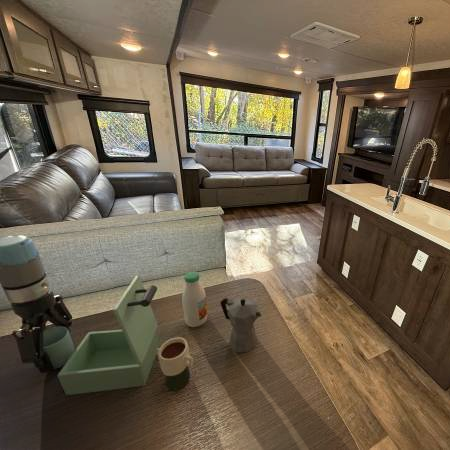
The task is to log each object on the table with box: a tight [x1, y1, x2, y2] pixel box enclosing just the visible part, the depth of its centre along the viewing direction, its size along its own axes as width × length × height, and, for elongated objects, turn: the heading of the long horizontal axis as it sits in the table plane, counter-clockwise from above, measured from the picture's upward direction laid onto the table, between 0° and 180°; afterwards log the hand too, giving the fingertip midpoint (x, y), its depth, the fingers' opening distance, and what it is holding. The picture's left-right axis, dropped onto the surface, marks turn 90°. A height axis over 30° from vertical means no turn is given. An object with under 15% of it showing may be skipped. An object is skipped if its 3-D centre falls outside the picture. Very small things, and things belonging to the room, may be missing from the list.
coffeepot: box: [219, 297, 262, 353], centre depth 81 cm, size 15×9×18 cm, turn 67°
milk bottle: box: [181, 271, 208, 328], centre depth 87 cm, size 8×8×20 cm
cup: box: [43, 326, 75, 370], centre depth 70 cm, size 8×8×10 cm
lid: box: [112, 274, 159, 366], centre depth 67 cm, size 19×14×6 cm
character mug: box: [156, 337, 194, 391], centre depth 68 cm, size 11×7×13 cm, turn 77°
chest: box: [57, 328, 161, 396], centre depth 71 cm, size 19×14×8 cm
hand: (58, 356), depth 72 cm, fingers closed on cup, 8 cm apart
